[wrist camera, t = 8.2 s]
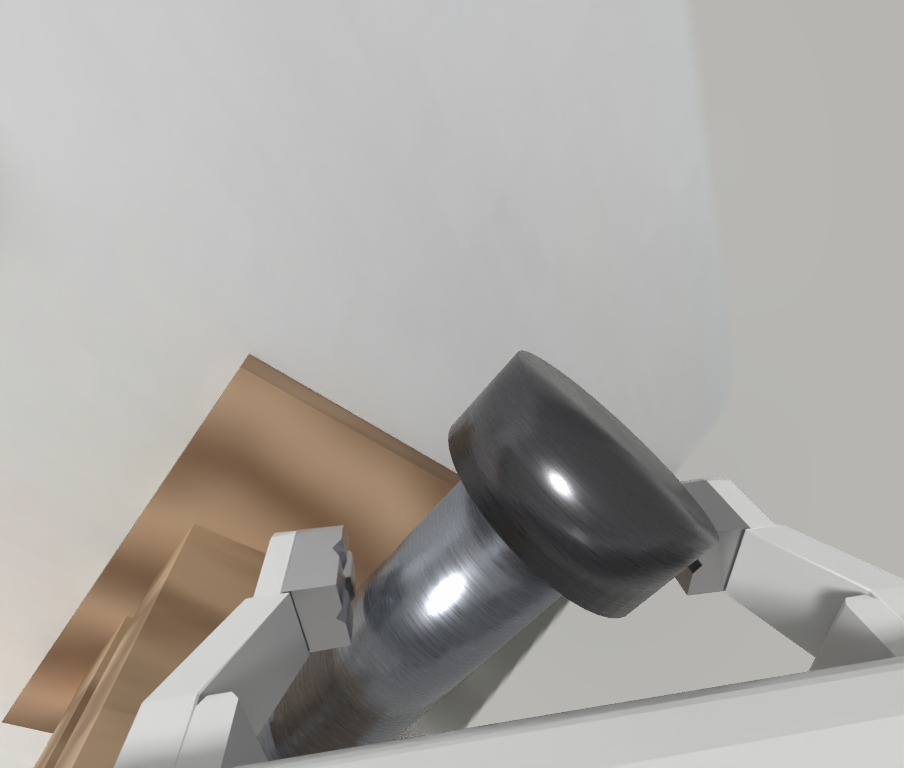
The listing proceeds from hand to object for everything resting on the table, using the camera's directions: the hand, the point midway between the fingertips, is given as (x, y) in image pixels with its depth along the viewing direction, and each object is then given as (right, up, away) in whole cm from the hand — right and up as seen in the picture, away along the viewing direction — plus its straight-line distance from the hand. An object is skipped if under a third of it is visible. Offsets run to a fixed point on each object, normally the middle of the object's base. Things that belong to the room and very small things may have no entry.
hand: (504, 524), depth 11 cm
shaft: (-6, -6, +4) cm, 10 cm away
